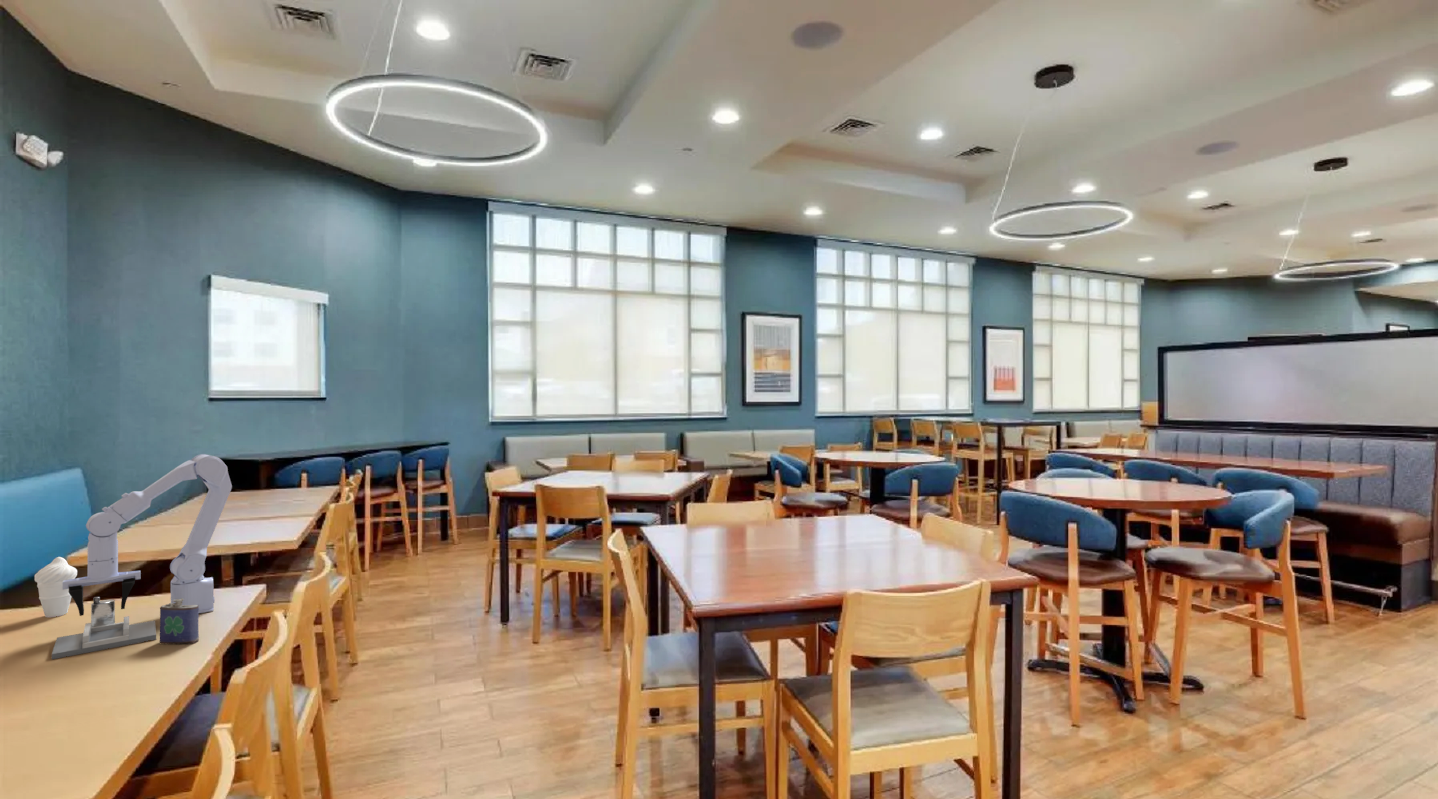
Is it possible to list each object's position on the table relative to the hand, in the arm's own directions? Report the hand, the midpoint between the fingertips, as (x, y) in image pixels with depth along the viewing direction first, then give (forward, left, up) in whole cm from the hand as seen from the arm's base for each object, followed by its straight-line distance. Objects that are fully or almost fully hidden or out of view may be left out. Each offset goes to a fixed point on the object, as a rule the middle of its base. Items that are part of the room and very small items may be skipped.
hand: (102, 611), depth 166 cm
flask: (-14, +25, -5) cm, 29 cm away
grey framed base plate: (-1, +12, -5) cm, 13 cm away
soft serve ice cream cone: (+10, -24, -5) cm, 26 cm away
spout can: (0, 0, -5) cm, 5 cm away
